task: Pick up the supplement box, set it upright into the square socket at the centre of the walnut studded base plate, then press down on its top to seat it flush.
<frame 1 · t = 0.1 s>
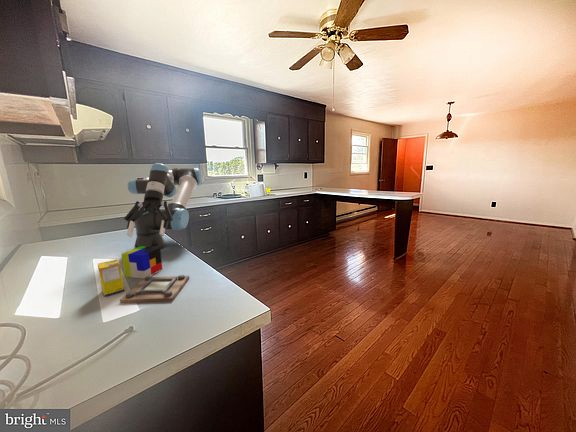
hand: (145, 235, 104), 15 cm above the table, tool tilted 35°, fingers open, 13 cm apart
supplement box: (113, 291, 87), on the table
puzzle toy: (144, 272, 103), on the table
base plate: (158, 289, 89), on the table
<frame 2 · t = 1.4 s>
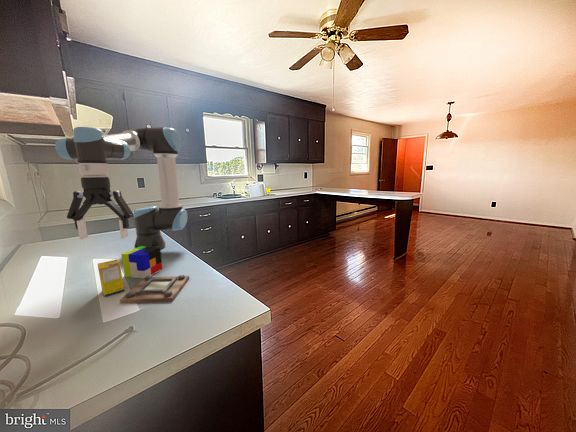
hand: (104, 238, 83), 20 cm above the table, tool pointing down, fingers open, 13 cm apart
nothing on the table moved.
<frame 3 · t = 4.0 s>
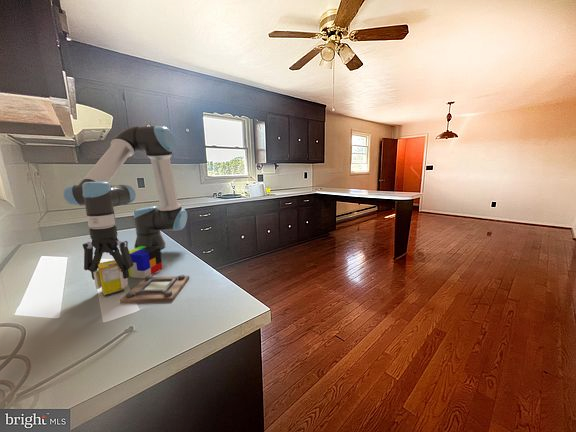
hand: (112, 286, 87), 2 cm above the table, tool pointing down, fingers closed on supplement box, 8 cm apart
supplement box: (113, 291, 87), on the table, touching gripper
everything else where it was.
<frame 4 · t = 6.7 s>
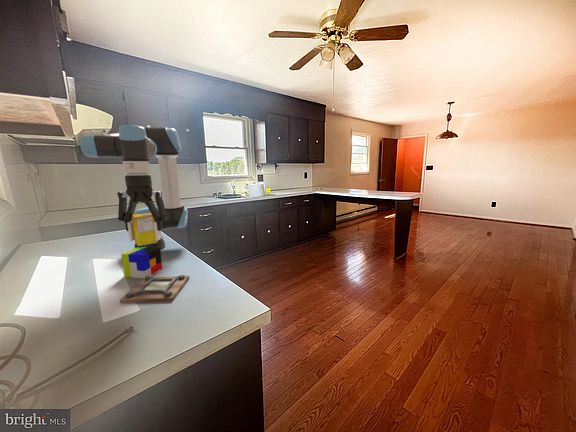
hand: (145, 239, 84), 20 cm above the table, tool pointing down, fingers closed on supplement box, 8 cm apart
supplement box: (146, 245, 85), point 18 cm above the table, touching gripper
everything else where it was.
when the fingers open (4 cm above the table, at t = 9.3 s): supplement box stays where it is, resting on base plate.
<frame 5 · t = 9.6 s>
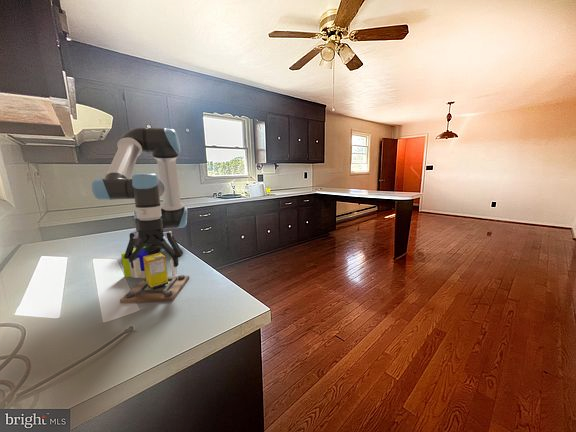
hand: (156, 275, 87), 6 cm above the table, tool pointing down, fingers open, 12 cm apart
supplement box: (157, 284, 88), point 2 cm above the table, touching base plate
everything else where it was.
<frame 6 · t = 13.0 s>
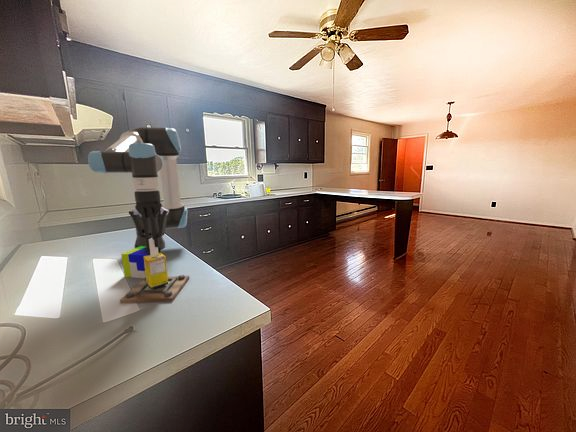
hand: (154, 255, 86), 13 cm above the table, tool pointing down, fingers closed
supplement box: (157, 284, 88), point 2 cm above the table, touching base plate, gripper
everything else where it was.
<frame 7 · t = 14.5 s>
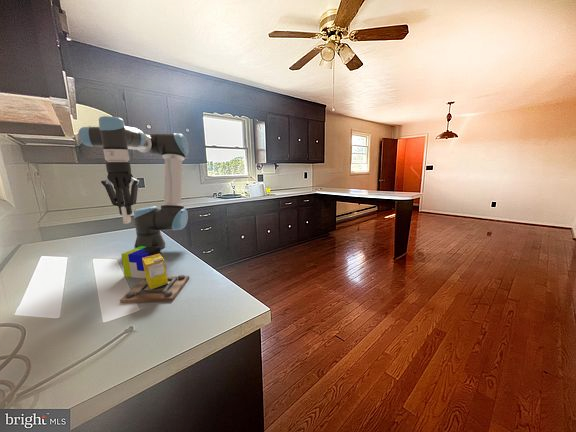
hand: (127, 222, 94), 23 cm above the table, tool pointing down, fingers closed
supplement box: (157, 284, 88), point 2 cm above the table, touching base plate
everything else where it was.
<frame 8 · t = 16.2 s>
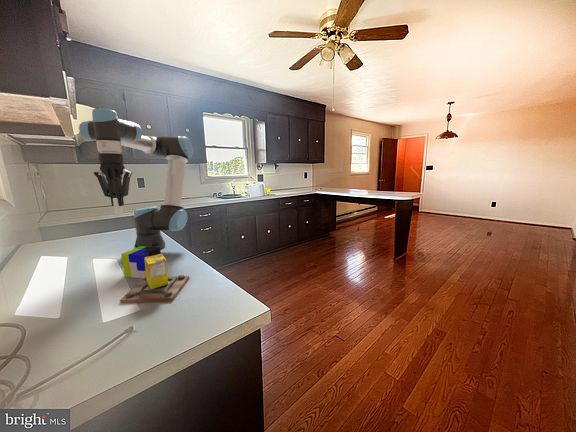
hand: (119, 214, 95), 26 cm above the table, tool pointing down, fingers closed
nothing on the table moved.
at the end: supplement box 0.3 cm off-centre on the base plate, point 1.6 cm above the base plate's base; supplement box tilted 8°; the gripper is holding nothing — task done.
